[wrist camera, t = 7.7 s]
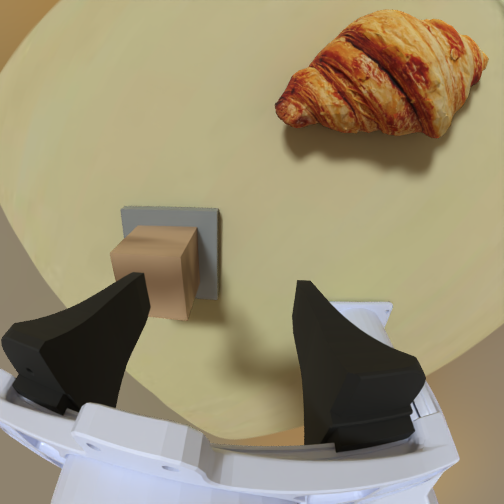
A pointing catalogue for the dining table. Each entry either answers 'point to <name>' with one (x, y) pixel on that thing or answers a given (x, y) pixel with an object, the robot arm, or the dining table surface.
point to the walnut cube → (162, 266)
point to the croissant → (386, 78)
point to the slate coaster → (187, 218)
